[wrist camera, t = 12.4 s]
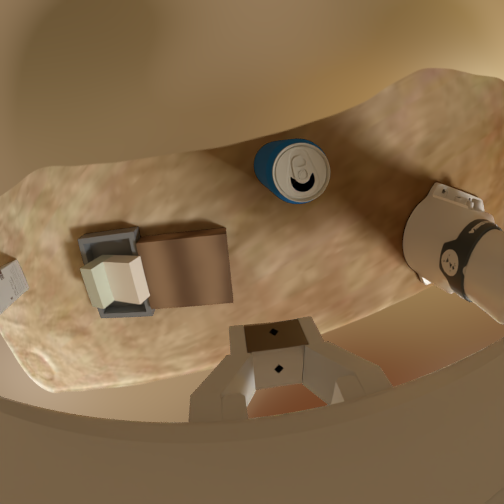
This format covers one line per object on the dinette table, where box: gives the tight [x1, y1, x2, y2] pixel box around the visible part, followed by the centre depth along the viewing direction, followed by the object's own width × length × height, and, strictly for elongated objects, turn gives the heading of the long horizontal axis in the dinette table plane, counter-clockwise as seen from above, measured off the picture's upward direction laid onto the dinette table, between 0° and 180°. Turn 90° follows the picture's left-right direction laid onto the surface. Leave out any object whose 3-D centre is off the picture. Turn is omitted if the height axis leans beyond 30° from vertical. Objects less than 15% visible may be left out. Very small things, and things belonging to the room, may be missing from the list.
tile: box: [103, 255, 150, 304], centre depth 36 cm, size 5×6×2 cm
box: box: [78, 227, 155, 318], centre depth 38 cm, size 9×13×2 cm
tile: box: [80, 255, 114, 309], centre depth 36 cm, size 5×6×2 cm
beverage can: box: [254, 139, 330, 204], centre depth 31 cm, size 6×6×12 cm
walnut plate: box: [136, 228, 233, 309], centre depth 38 cm, size 12×10×3 cm
